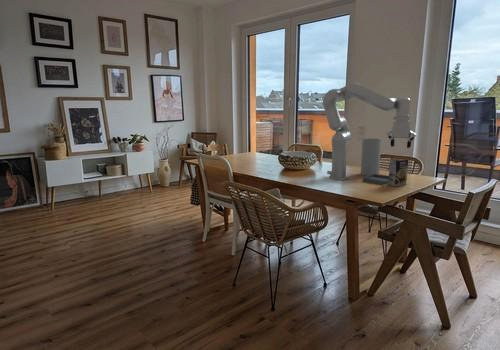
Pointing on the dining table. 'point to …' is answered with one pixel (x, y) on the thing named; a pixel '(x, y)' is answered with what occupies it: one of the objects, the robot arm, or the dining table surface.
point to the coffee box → (398, 172)
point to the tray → (376, 179)
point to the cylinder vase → (370, 156)
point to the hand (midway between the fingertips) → (400, 147)
